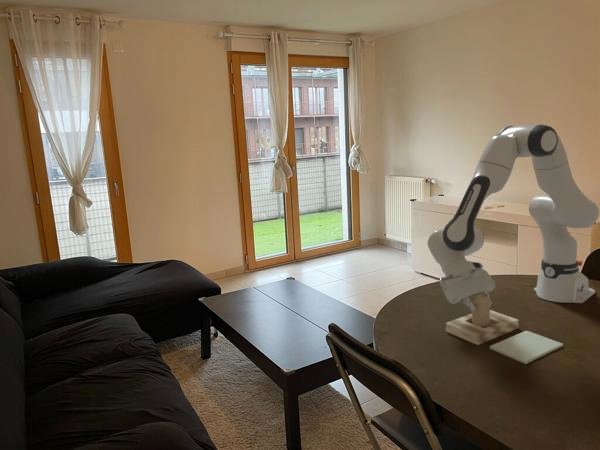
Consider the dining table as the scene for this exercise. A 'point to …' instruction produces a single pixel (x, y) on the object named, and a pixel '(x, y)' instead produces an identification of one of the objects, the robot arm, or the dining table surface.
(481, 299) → the candle
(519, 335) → the sage mat
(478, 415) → the dining table surface
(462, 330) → the socket block
